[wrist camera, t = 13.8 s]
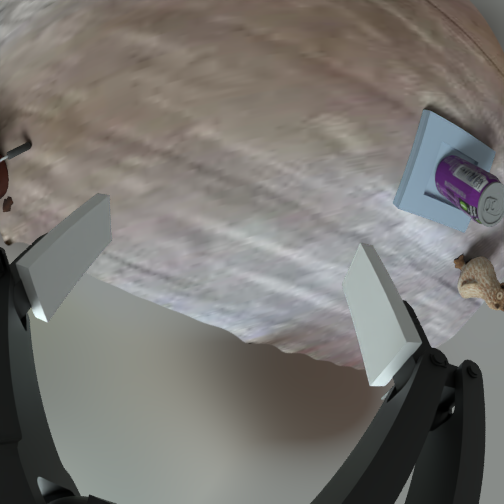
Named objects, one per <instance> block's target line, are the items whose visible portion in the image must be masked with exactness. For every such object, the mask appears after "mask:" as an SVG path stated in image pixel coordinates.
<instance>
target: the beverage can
mask: <svg viewBox="0 0 504 504" xmlns="http://www.w3.org/2000/svg"><path fill="white" fill-rule="evenodd" d="M435 184H436V187H437V190H438V191H439V193H440V194H441V195H442V196H444V197H445V198H446V199H448V200H449V201H450V202H452V203H453V204H454V205H455V206H457V207H458V208H459V209H460V210H462V211H463V212H464V213H465V214H467V215H468V216H469V217H470V218H471V219H472V220H474V221H475V222H477V223H479V224H483V225H485V226H487V227H492V226H494V225H496V224H497V223H499V222H500V220H501V219H502V218H503V216H504V185H503V184H501V182H500V181H499V179H498V178H497V177H496V176H494V175H493V174H491V173H489V172H487V171H485V170H484V169H482V168H480V167H478V166H476V165H474V164H472V163H470V162H468V161H466V160H464V159H462V158H460V157H458V156H455V155H451V156H447V157H446V158H444V159H443V160H442V161H441V162H440V163H439V165H438V167H437V170H436V174H435Z"/></svg>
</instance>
